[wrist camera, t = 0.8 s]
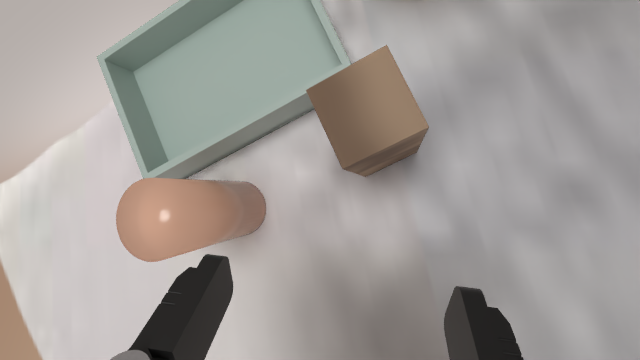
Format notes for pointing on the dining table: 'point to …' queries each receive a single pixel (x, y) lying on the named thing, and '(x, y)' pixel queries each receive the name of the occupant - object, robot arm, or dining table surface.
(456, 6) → the dining table surface
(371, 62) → the walnut block
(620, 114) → the dining table surface
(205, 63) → the tray
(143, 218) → the terracotta cylinder
